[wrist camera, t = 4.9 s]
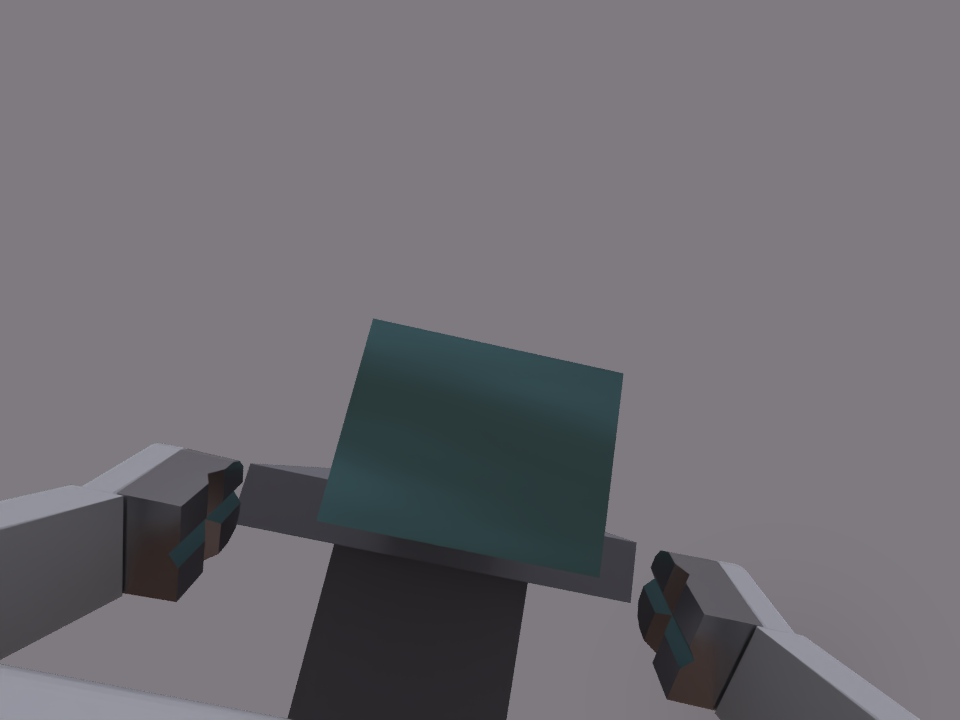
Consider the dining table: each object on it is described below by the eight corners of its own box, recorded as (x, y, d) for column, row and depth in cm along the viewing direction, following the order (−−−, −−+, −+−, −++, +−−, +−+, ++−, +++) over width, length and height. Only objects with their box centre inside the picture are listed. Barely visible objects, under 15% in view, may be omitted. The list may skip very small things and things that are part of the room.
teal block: (599, 578, 6) (623, 373, 7) (315, 520, 6) (373, 318, 7) (468, 493, 33) (476, 453, 34) (416, 482, 33) (425, 443, 34)
